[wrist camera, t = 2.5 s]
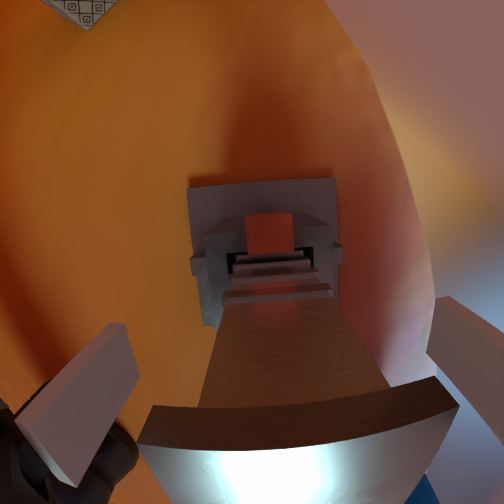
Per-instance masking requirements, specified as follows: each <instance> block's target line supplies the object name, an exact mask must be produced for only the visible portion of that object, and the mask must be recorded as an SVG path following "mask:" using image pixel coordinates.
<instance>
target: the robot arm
mask: <svg viewBox="0 0 504 504" xmlns="http://www.w3.org/2000/svg"><path fill="white" fill-rule="evenodd" d="M426 353H427V354H428V356H429V357H430V358H431V359H432V360H433V361H434V362H435V363H436V364H437V366H438V367H439V368H440V369H441V370H442V371H443V372H444V373H445V375H446V376H447V377H448V378H449V379H450V380H451V381H452V383H453V384H454V385H455V386H456V387H457V388H458V389H459V390H460V392H461V393H462V394H463V395H464V397H465V398H466V399H467V400H468V401H469V403H470V404H471V405H472V406H473V407H474V409H475V410H476V411H477V412H478V414H479V415H480V416H481V417H482V419H483V420H484V421H485V422H486V423H487V425H488V426H489V427H490V429H491V430H492V431H493V432H494V434H495V435H496V436H497V438H498V439H499V440H500V442H501V443H502V444H503V445H504V333H503V332H501V331H500V330H499V329H497V328H496V327H494V326H493V325H491V324H490V323H488V322H487V321H486V320H484V319H483V318H481V317H480V316H478V315H477V314H475V313H474V312H472V311H471V310H469V309H468V308H466V307H465V306H463V305H462V304H460V303H459V302H457V301H456V300H454V299H453V298H451V297H449V296H446V297H440V298H436V301H435V308H434V314H433V320H432V326H431V331H430V336H429V341H428V346H427V351H426ZM139 378H140V375H139V372H138V369H137V365H136V362H135V359H134V356H133V352H132V349H131V346H130V342H129V339H128V335H127V331H126V328H125V324H124V323H109V324H108V325H106V326H105V327H104V328H103V329H102V330H101V331H100V332H99V333H98V334H97V335H96V336H95V337H94V338H93V339H92V340H91V341H90V342H89V343H88V344H87V345H86V346H85V347H84V348H83V349H82V350H81V351H80V352H79V353H78V354H77V355H76V356H75V357H74V358H73V359H72V360H71V361H70V362H69V363H68V364H67V365H66V366H65V367H64V368H63V369H62V370H61V371H60V372H59V373H58V374H57V375H56V376H55V377H54V378H52V379H50V380H49V381H47V382H45V383H44V384H43V385H42V386H41V387H40V388H39V389H38V390H37V391H36V393H34V394H33V395H32V396H31V397H30V400H28V401H27V402H26V403H25V404H24V405H23V406H22V407H21V408H20V409H19V410H18V411H17V412H16V413H15V415H14V414H13V413H12V411H11V410H10V409H9V408H8V407H9V406H8V404H5V402H4V401H3V400H2V399H1V398H0V504H108V501H109V499H110V497H111V494H112V492H113V490H114V487H115V485H116V484H117V483H118V482H120V481H121V480H122V479H123V478H124V477H125V476H126V475H127V474H128V473H129V471H131V470H132V469H133V468H134V467H135V465H136V463H137V460H138V458H139V451H138V448H137V446H136V444H135V443H134V441H133V440H132V439H131V437H130V436H129V435H128V434H127V433H126V432H125V431H124V430H122V429H121V428H120V427H119V426H118V425H116V424H115V423H114V420H115V419H116V417H117V415H118V413H119V412H120V410H121V408H122V407H123V405H124V403H125V401H126V400H127V398H128V396H129V395H130V393H131V391H132V390H133V388H134V386H135V384H136V383H137V381H138V379H139Z"/></svg>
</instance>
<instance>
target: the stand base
mask: <svg viewBox="0 0 504 504" xmlns="http://www.w3.org/2000/svg"><path fill="white" fill-rule="evenodd" d="M187 198H188V209H189V219H190V228H191V237H192V246H193V254H194V255H193V256H192V257H191V258H190V264H191V271H192V276H196V277H197V284H198V292H199V298H200V305H201V312H202V318H203V324H204V326H215V328H216V335H217V332H218V328H219V325H220V321H221V317H222V314H223V306H222V295H223V292H224V291H229V285H228V277H229V274H233V268H232V265H233V262H236V253H238V252H248V255H261V254H274V253H287V252H294V248H302V250H303V257H305V256H308V257H309V259H310V267H311V268H315V267H316V268H317V269H318V270H319V272H320V281H321V282H322V283H329V285H330V286H331V287H332V289H333V300H334V301H335V303H336V304H337V305H338V296H339V265H344V247H343V246H341V245H340V244H338V217H337V197H336V182H335V178H309V179H289V180H273V181H259V182H246V183H234V184H224V185H214V186H205V187H196V188H187Z"/></svg>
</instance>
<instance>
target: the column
mask: <svg viewBox="0 0 504 504" xmlns="http://www.w3.org/2000/svg"><path fill="white" fill-rule="evenodd" d="M232 268H233V274H229V277H228V285H229V291H224V292H223V295H222V306H223V314H222V317H221V321H220V325H219V328H218V332H217V336H216V339H215V343H214V347H213V351H212V354H211V358H210V362H209V365H208V369H207V373H206V377H205V380H204V384H203V388H202V392H201V396H200V399H199V403H198V407H197V408H193V407H173V406H159V405H153V406H152V409H151V411H150V413H149V415H148V418H147V420H146V422H145V424H144V426H143V429H142V431H141V433H140V435H139V438H138V440H137V442H136V444H137V446H138V448H139V450H140V452H141V453H142V455H143V457H144V459H145V461H146V462H147V464H148V466H149V468H150V469H151V471H152V473H153V474H154V476H155V477H156V479H157V481H158V482H159V484H160V485H161V487H162V488H163V490H164V492H165V493H166V495H167V496H168V497H169V499H170V500H171V502H172V503H173V504H404V503H405V501H406V500H407V498H408V497H409V496H410V494H411V493H412V491H413V490H414V489H415V487H416V486H417V484H418V483H419V481H420V480H421V478H422V476H423V475H424V473H425V472H426V470H427V468H428V467H429V464H430V463H431V462H432V460H433V458H434V457H435V454H436V453H437V451H438V449H439V447H440V446H441V444H442V442H443V440H444V438H445V436H446V434H447V432H448V430H449V428H450V426H451V424H452V422H453V420H454V417H455V415H456V413H457V411H458V409H459V406H460V405H459V404H458V403H457V402H456V401H455V399H454V398H453V397H452V396H451V394H450V393H449V392H448V391H447V390H446V388H445V387H444V386H443V385H442V384H441V383H440V381H439V380H438V379H437V378H436V377H435V376H431V377H428V378H425V379H421V380H418V381H415V382H411V383H407V384H403V385H400V386H396V387H392V388H391V387H390V385H389V384H388V382H387V380H386V379H385V377H384V376H383V374H382V372H381V371H380V369H379V368H378V366H377V365H376V363H375V361H374V360H373V358H372V357H371V355H370V354H369V352H368V351H367V349H366V348H365V346H364V344H363V343H362V341H361V340H360V338H359V337H358V335H357V334H356V332H355V331H354V329H353V328H352V326H351V325H350V323H349V322H348V320H347V319H346V317H345V316H344V314H343V313H342V311H341V310H340V308H339V307H338V305H337V304H336V303H335V301H334V300H333V289H332V287H331V286H330V285H329V283H322V282H321V281H320V272H319V270H318V269H317V268H316V267H315V268H311V267H310V259H309V257H308V256H305V257H303V250H302V248H294V252H287V253H274V254H261V255H248V252H238V253H236V262H233V265H232Z"/></svg>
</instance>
